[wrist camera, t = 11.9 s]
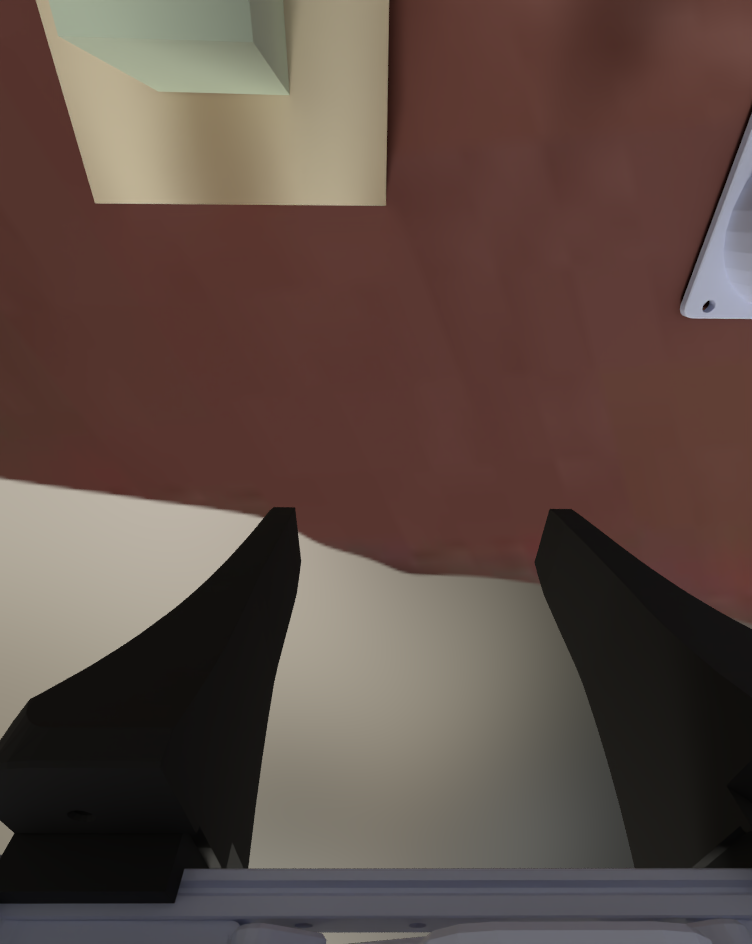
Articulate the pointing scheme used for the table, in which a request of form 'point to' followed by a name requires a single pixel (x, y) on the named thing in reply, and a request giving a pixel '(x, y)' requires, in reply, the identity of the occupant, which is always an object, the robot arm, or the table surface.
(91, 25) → the sage block
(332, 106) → the birch block
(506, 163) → the table surface
